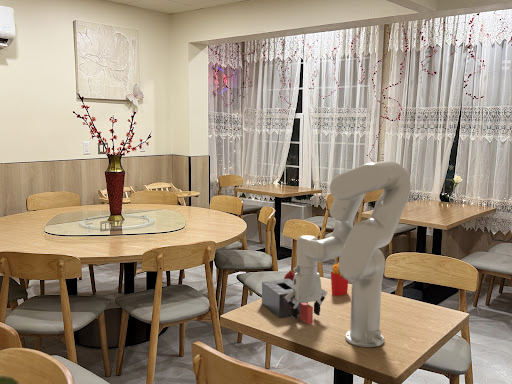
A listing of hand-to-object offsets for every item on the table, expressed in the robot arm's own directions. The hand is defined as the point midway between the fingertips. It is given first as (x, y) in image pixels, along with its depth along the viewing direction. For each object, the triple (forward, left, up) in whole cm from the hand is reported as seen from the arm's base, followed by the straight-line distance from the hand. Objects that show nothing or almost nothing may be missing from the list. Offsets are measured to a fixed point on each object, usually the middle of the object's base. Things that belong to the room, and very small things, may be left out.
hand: (305, 315), depth 180 cm
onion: (+36, -12, -2) cm, 38 cm away
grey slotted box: (+14, +2, -2) cm, 14 cm away
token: (0, 0, -2) cm, 2 cm away
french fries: (+21, -28, -2) cm, 35 cm away
